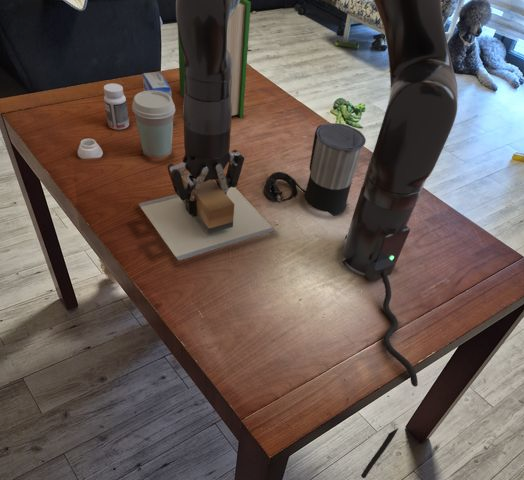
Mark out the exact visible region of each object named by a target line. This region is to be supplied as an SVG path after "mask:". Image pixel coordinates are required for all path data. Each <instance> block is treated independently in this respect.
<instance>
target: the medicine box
mask: <svg viewBox="0 0 524 480" xmlns="http://www.w3.org/2000/svg"><path fill="white" fill-rule="evenodd" d="M142 82H143V91H149V90H154V91H161V92H164V93H166V94H168V95H169V96H171V98H172V99H173V97H172V96H173V95H172V88H171V85H170V84H169V83H168V82H167V79H165V77H164V76H163V74H162V73H161V72H144V73H142Z"/></svg>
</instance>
